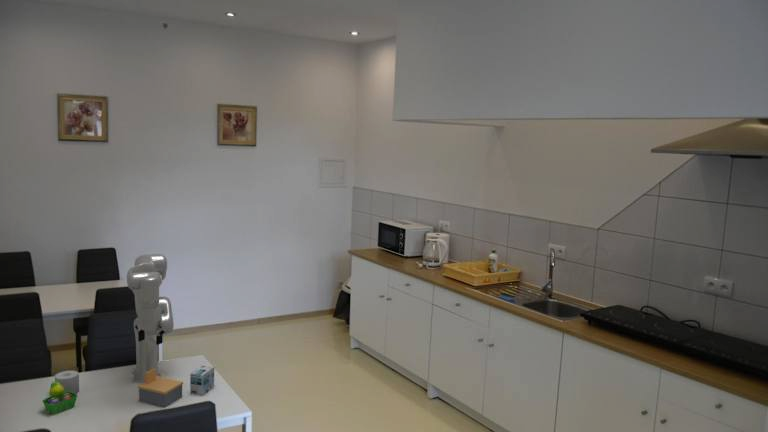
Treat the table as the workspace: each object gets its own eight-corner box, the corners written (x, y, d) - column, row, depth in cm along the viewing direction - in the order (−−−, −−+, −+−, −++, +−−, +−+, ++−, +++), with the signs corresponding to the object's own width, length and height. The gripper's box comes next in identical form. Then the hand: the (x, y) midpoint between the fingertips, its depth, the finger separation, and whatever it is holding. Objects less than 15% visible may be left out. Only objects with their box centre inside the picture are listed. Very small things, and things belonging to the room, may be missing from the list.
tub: (139, 403, 252) (138, 387, 251) (156, 393, 262) (156, 378, 261) (165, 409, 247) (164, 393, 246) (182, 399, 257) (182, 384, 256)
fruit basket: (51, 416, 237) (50, 390, 236) (40, 410, 242) (39, 385, 240) (78, 406, 247) (78, 381, 245) (67, 400, 251) (66, 376, 250)
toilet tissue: (75, 383, 268) (74, 366, 267) (80, 394, 258) (79, 376, 256) (53, 388, 263) (52, 370, 262) (57, 399, 252) (56, 380, 251)
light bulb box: (203, 398, 259) (203, 375, 258) (189, 396, 261) (189, 373, 259) (214, 388, 270) (214, 366, 268) (201, 386, 271) (201, 364, 269)
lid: (137, 389, 251) (137, 374, 250) (156, 379, 262) (156, 365, 261) (165, 396, 246) (164, 381, 245) (183, 385, 257) (183, 371, 256)
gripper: (127, 303, 250) (128, 341, 252) (160, 309, 244) (160, 348, 247) (140, 299, 257) (140, 336, 259) (172, 304, 251) (172, 342, 254)
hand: (150, 342), depth 253 cm, fingers open, 9 cm apart
